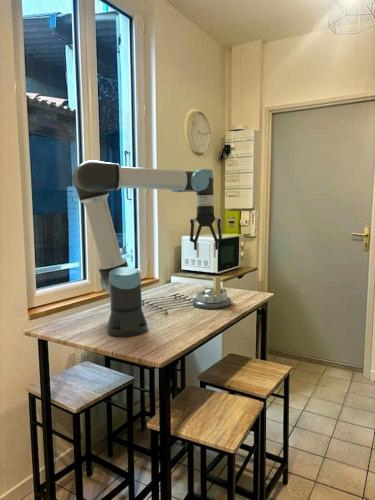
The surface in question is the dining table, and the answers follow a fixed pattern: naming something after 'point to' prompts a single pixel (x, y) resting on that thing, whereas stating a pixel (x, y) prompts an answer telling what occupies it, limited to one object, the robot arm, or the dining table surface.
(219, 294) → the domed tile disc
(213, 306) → the housing
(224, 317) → the dining table surface
